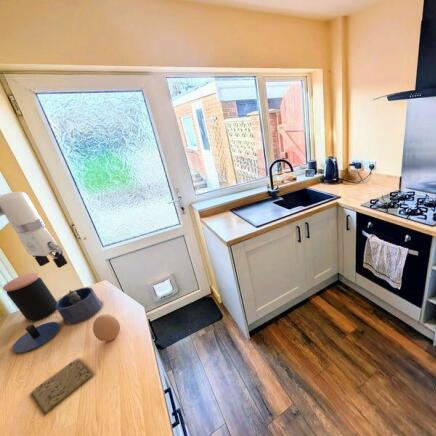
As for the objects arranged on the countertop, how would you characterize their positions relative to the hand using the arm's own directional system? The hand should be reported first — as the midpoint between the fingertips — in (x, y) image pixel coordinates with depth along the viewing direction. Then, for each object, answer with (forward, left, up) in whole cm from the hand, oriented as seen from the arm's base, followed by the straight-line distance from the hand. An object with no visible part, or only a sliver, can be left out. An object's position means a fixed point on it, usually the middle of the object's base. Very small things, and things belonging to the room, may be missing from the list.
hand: (54, 264), depth 96 cm
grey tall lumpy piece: (0, 0, -25) cm, 25 cm away
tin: (0, 0, -25) cm, 25 cm away
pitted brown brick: (+25, -26, -25) cm, 44 cm away
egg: (+26, -9, -26) cm, 37 cm away
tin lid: (-6, -14, -25) cm, 29 cm away
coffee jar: (-20, -3, -26) cm, 33 cm away
